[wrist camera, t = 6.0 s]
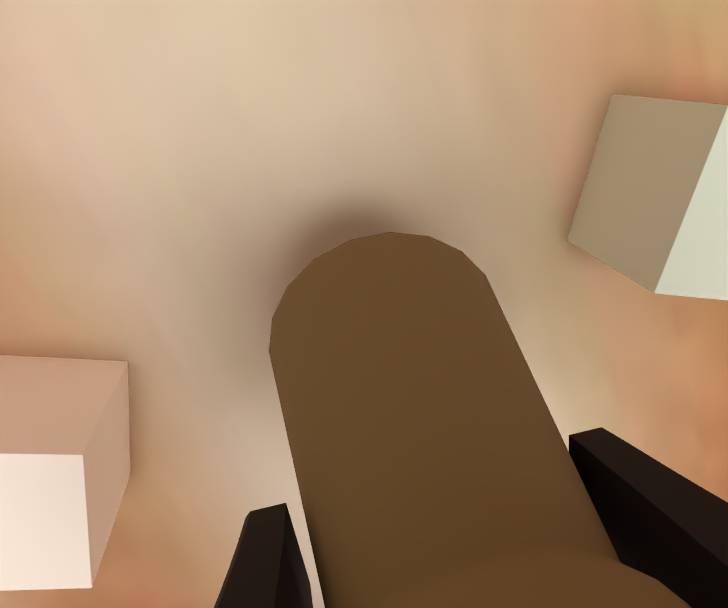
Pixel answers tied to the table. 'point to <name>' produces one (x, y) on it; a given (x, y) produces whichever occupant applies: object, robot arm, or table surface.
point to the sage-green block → (659, 196)
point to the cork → (432, 443)
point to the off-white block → (60, 467)
